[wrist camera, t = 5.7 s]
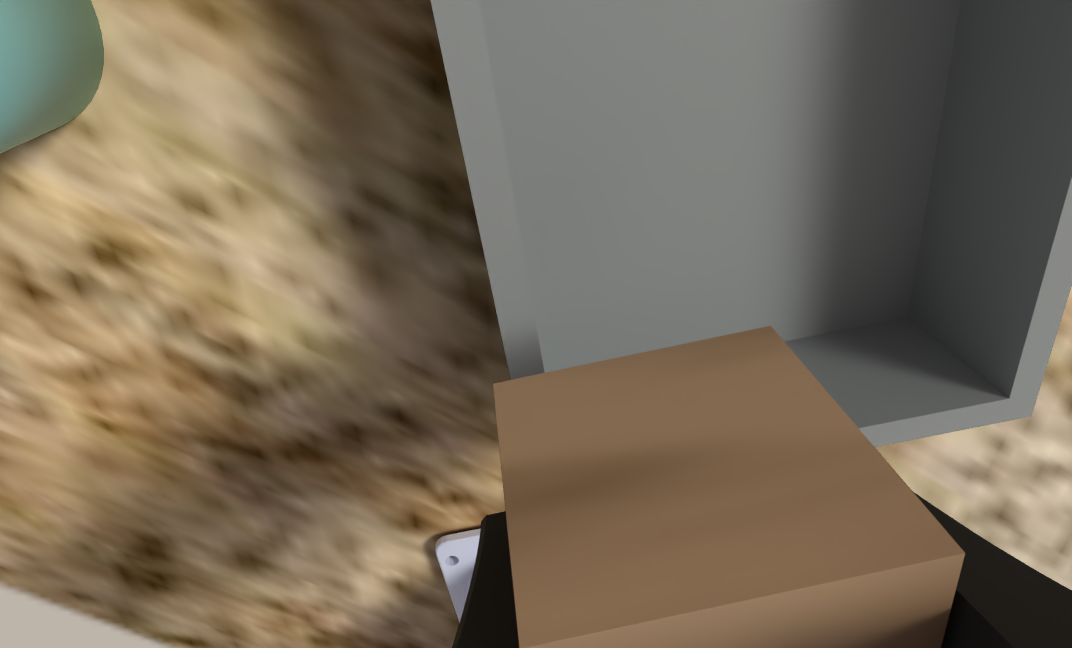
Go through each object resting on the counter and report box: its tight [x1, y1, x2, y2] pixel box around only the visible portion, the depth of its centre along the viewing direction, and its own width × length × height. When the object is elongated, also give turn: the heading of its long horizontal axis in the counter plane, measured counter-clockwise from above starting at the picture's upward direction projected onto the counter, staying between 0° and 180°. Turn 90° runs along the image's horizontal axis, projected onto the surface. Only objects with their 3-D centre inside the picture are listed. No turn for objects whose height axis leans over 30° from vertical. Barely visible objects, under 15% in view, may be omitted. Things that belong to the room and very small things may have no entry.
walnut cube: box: [493, 326, 965, 648], centre depth 10 cm, size 5×5×5 cm
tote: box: [431, 0, 1072, 447], centre depth 15 cm, size 18×14×5 cm
